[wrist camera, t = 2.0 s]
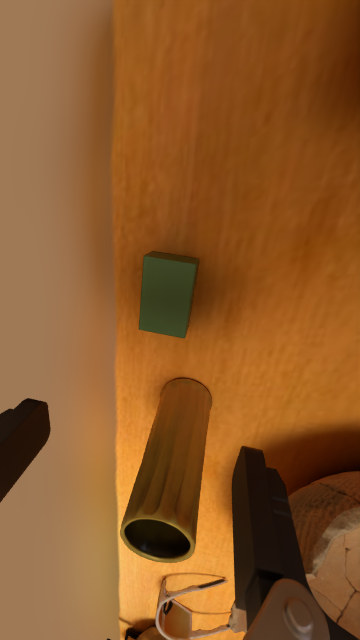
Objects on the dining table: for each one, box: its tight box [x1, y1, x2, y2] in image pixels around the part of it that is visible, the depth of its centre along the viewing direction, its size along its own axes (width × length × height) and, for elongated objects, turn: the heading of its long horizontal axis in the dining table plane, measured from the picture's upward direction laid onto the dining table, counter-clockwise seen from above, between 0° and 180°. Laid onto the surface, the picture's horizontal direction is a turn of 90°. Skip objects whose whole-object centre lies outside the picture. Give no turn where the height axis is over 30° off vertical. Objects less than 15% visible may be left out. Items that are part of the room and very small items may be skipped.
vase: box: [120, 379, 212, 563], centre depth 23 cm, size 6×6×14 cm
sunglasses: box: [156, 578, 231, 640], centre depth 46 cm, size 14×15×5 cm
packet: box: [139, 251, 199, 338], centre depth 24 cm, size 7×4×3 cm, turn 172°
